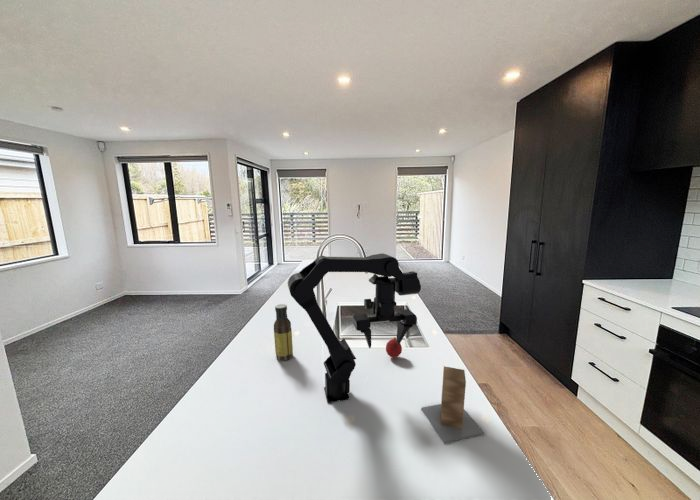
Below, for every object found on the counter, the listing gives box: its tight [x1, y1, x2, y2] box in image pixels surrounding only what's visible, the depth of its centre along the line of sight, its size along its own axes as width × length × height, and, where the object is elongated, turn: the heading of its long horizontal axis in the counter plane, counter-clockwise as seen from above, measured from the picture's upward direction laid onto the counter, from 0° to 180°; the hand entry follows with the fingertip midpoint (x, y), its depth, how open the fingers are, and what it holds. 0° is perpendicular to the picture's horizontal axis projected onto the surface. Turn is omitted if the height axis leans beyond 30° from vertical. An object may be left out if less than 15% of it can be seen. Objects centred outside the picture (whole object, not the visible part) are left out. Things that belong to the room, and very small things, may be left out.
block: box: [440, 365, 467, 429], centre depth 69 cm, size 5×5×13 cm
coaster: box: [421, 403, 486, 445], centre depth 70 cm, size 11×11×1 cm
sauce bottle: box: [273, 303, 294, 362], centre depth 98 cm, size 6×6×20 cm
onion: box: [385, 336, 403, 359], centre depth 98 cm, size 6×6×8 cm
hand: (383, 345), depth 82 cm, fingers open, 9 cm apart
